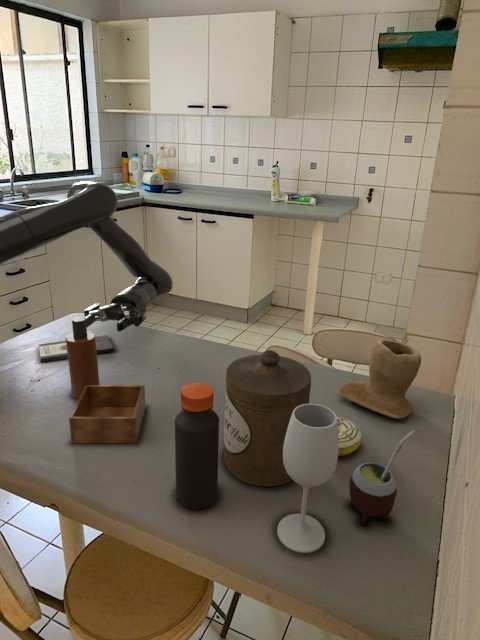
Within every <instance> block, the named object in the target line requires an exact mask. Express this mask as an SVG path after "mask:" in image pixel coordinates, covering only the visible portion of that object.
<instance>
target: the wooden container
mask: <svg viewBox="0 0 480 640" xmlns="http://www.w3.org/2000/svg"><path fill="white" fill-rule="evenodd" d="M311 388H312V374H311V372H310V370H309V369H308V368H307V367H306V365H304V364H302V363H301V362H299V361H297V360H295V359H292V358H289V357H286V356H281V355H280V354H278V353H277V352H276V351H275V350H273V349H267V350H265V351H263V352H261V353H259V354H252V355H246V356H243V357H239V358H237V359H235V360H233V361H232V362H231V363H230V364H228V366H227V368H226V370H225V405H224V425H223V462H224V464H225V465H224V466H225V467H226V469H227V471H229V473H230V474H231V475H233V476H234V478H237V479H238V480H240V481H241V482H242V483H243V482H244V483H246V484H249V485H252V486H257V487H266V488H267V487H278V486H283V485H285V484H288V483H290V482H291V481H294V480H293V479H292V478H291V477H290V476H289V475H288V473H287V471H286V469H285V467H284V464H283V446H284V441H285V436H286V432H287V429H288V425H289V422H290V419H291V416H292V413H293V410H294V409H295V408H296V407H298V406H300V405H303V404H310V397H311V396H310V395H311Z"/></svg>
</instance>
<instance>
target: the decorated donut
mask: <svg viewBox="0 0 480 640" xmlns="http://www.w3.org/2000/svg"><path fill="white" fill-rule="evenodd" d="M336 417H337V424H338V457H345V456H348V455H351V454H352V453H353V452H355V451H356V450H357V449H358V448H360V445H361V442H362V431H361V430H360V428H359V427H358V425H357V424H356V422H353V421H351V420H349V419H347V418H345V417H344V418H343V417H340V416H337V415H336Z"/></svg>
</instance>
